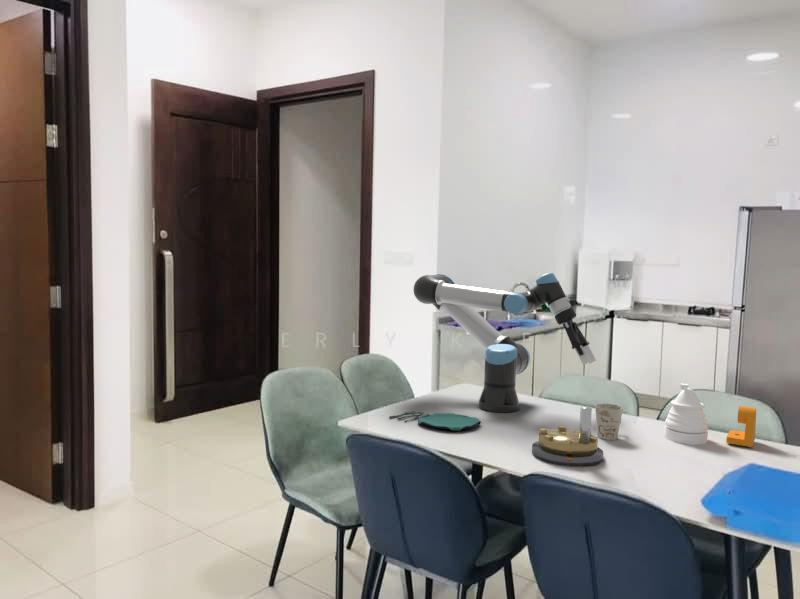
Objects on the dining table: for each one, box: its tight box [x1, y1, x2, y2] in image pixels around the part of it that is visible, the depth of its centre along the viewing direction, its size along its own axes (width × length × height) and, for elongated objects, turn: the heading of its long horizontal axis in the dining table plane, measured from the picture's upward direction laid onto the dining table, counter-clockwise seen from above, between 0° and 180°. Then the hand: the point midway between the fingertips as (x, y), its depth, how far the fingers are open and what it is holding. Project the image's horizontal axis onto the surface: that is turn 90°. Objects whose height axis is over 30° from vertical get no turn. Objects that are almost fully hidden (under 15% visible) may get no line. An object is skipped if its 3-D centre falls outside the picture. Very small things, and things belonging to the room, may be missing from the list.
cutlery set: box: [389, 410, 482, 432], centre depth 227 cm, size 20×30×2 cm, turn 53°
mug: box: [594, 403, 623, 441], centre depth 216 cm, size 8×13×10 cm, turn 137°
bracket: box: [725, 405, 757, 448], centre depth 212 cm, size 11×7×12 cm, turn 147°
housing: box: [531, 440, 604, 468], centre depth 193 cm, size 20×20×2 cm
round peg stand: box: [537, 406, 599, 456], centre depth 193 cm, size 17×17×13 cm
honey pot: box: [663, 383, 709, 445], centre depth 215 cm, size 13×13×18 cm
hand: (590, 362), depth 246 cm, fingers open, 13 cm apart
